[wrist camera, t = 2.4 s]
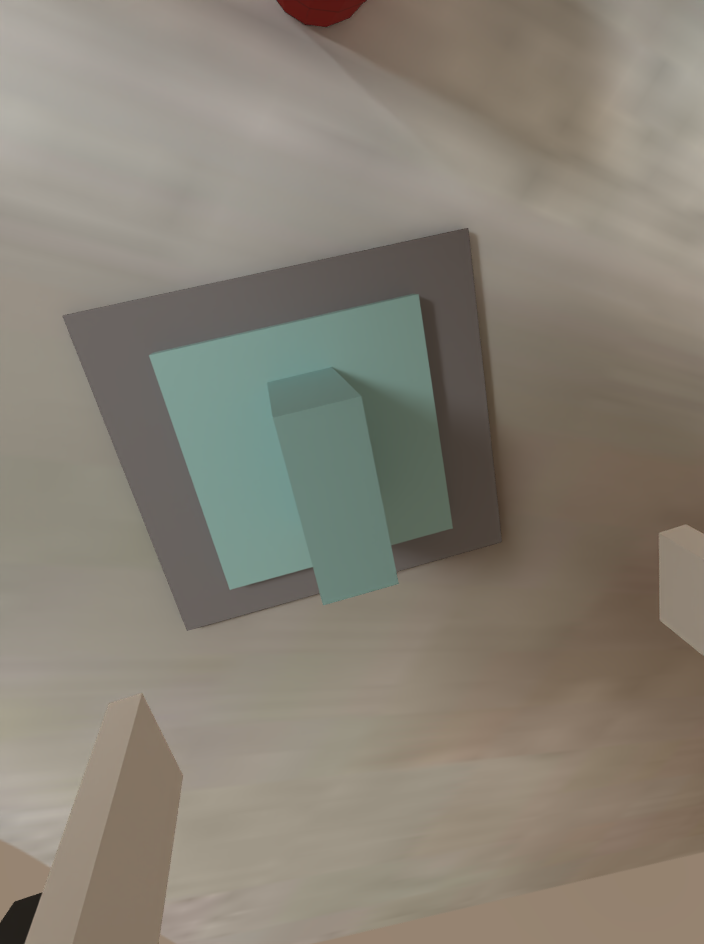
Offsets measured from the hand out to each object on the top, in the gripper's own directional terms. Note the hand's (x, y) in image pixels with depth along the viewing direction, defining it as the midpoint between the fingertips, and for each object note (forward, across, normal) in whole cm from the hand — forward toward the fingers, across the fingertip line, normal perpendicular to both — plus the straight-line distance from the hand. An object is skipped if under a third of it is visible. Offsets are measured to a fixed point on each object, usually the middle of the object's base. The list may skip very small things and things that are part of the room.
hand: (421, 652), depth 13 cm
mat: (+23, 0, -1) cm, 23 cm away
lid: (+22, 0, -1) cm, 22 cm away
